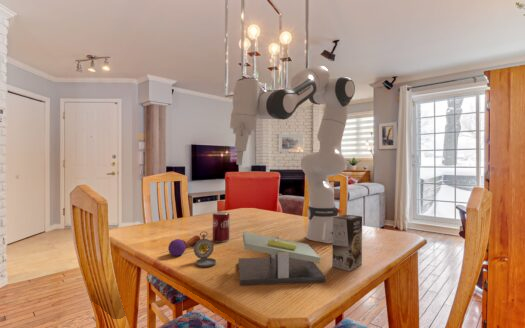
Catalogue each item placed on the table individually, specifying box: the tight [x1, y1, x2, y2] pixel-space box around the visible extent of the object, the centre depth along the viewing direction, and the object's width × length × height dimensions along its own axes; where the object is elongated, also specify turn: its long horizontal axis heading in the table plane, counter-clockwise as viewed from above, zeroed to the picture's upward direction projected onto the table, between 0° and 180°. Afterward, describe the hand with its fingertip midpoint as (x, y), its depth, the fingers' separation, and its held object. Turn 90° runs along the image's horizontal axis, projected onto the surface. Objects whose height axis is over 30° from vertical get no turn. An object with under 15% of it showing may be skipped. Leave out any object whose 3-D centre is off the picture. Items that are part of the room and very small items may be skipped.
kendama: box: [167, 234, 201, 257], centre depth 110 cm, size 6×6×20 cm
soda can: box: [212, 211, 231, 243], centre depth 123 cm, size 7×7×12 cm
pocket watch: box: [193, 231, 217, 268], centre depth 95 cm, size 8×8×10 cm
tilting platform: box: [242, 231, 321, 264], centre depth 88 cm, size 22×14×4 cm, turn 96°
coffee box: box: [331, 214, 363, 272], centre depth 93 cm, size 9×6×16 cm
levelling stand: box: [238, 236, 326, 286], centre depth 87 cm, size 24×18×8 cm
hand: (239, 164), depth 99 cm, fingers open, 8 cm apart
